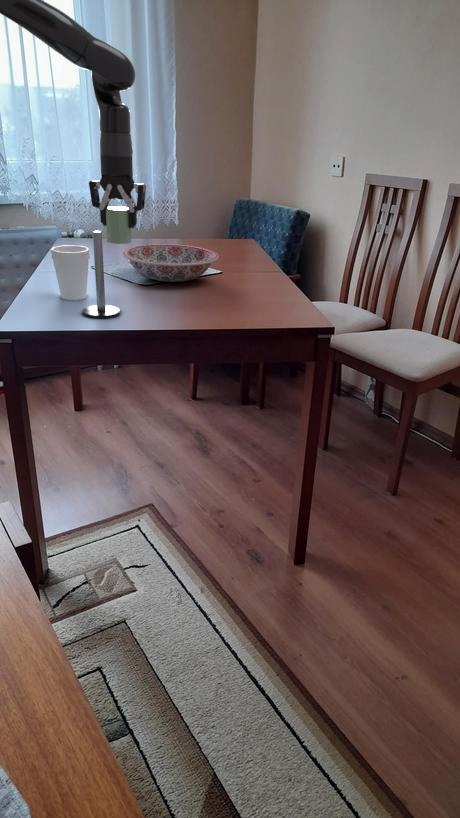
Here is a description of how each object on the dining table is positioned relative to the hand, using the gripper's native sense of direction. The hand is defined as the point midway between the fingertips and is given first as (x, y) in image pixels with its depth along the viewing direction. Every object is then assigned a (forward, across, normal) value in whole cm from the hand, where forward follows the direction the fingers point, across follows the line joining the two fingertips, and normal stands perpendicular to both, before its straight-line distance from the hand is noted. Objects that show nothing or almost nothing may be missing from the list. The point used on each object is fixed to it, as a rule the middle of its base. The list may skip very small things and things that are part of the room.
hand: (119, 226), depth 139 cm
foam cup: (+20, -13, -1) cm, 24 cm away
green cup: (+4, 0, 0) cm, 4 cm away
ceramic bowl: (+20, +6, +28) cm, 35 cm away
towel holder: (+19, -1, -12) cm, 23 cm away
